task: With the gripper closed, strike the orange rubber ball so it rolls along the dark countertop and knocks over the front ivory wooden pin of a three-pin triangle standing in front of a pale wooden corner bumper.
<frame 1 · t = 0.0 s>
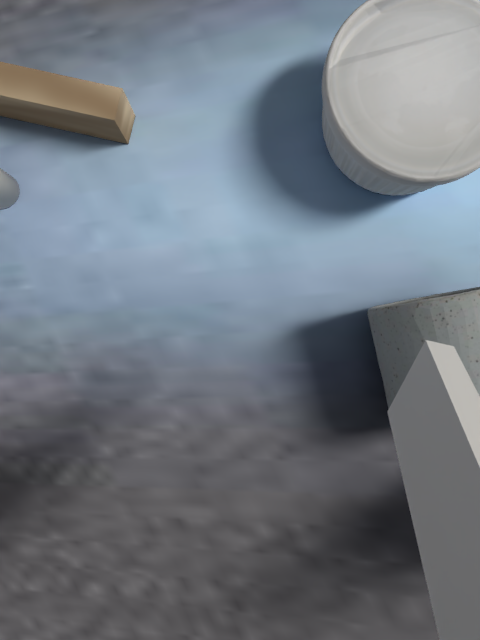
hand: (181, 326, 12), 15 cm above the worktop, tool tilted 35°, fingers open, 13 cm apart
ramekin: (390, 130, 28), on the worktop
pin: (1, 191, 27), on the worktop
ceramic mug: (438, 351, 27), on the worktop
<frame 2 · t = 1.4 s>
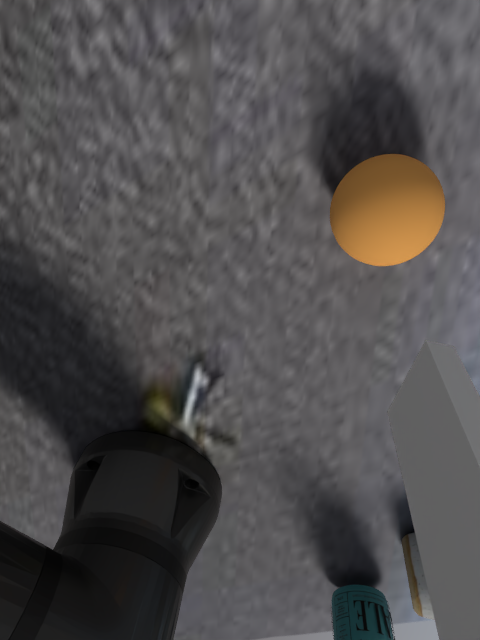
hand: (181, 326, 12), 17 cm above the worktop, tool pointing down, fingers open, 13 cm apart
ball: (384, 211, 23), on the worktop
ceramic mug: (444, 542, 43), on the worktop
beverage bottle: (357, 582, 49), on the worktop
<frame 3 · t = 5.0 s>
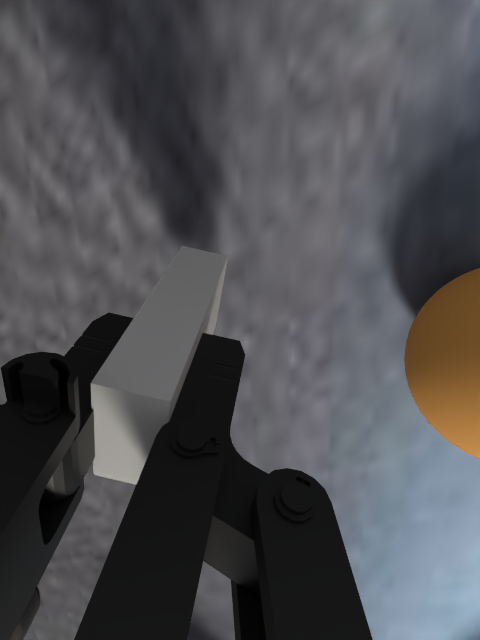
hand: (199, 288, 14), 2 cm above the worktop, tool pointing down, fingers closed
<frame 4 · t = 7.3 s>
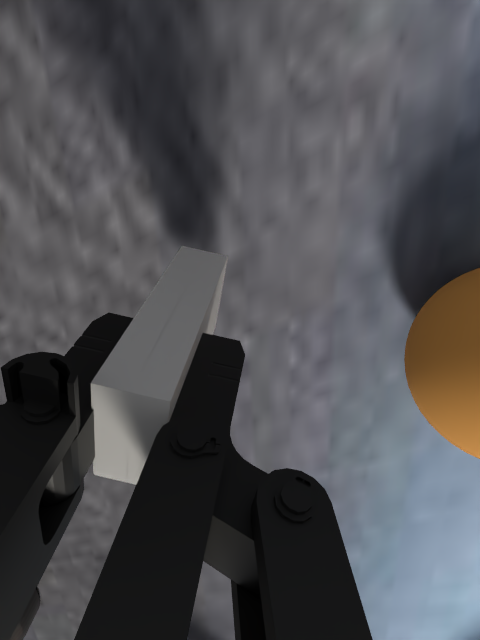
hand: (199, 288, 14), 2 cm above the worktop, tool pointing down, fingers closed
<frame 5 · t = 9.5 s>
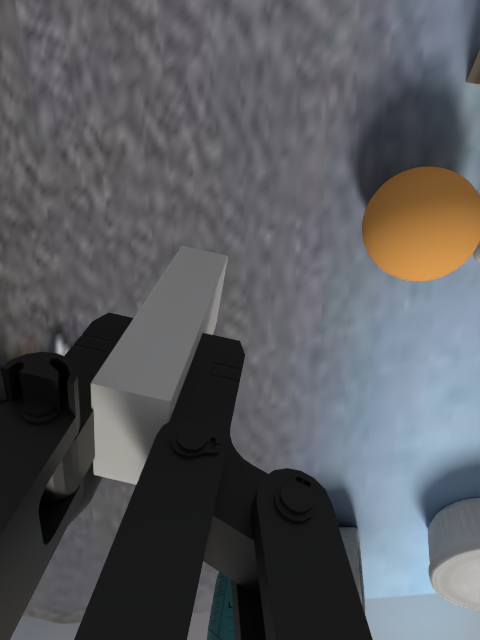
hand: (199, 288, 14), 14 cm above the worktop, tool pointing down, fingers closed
ball: (420, 225, 22), on the worktop
ramekin: (479, 522, 40), on the worktop
ceramic mug: (324, 538, 45), on the worktop
beverage bottle: (245, 563, 49), on the worktop
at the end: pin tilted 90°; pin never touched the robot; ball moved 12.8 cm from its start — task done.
